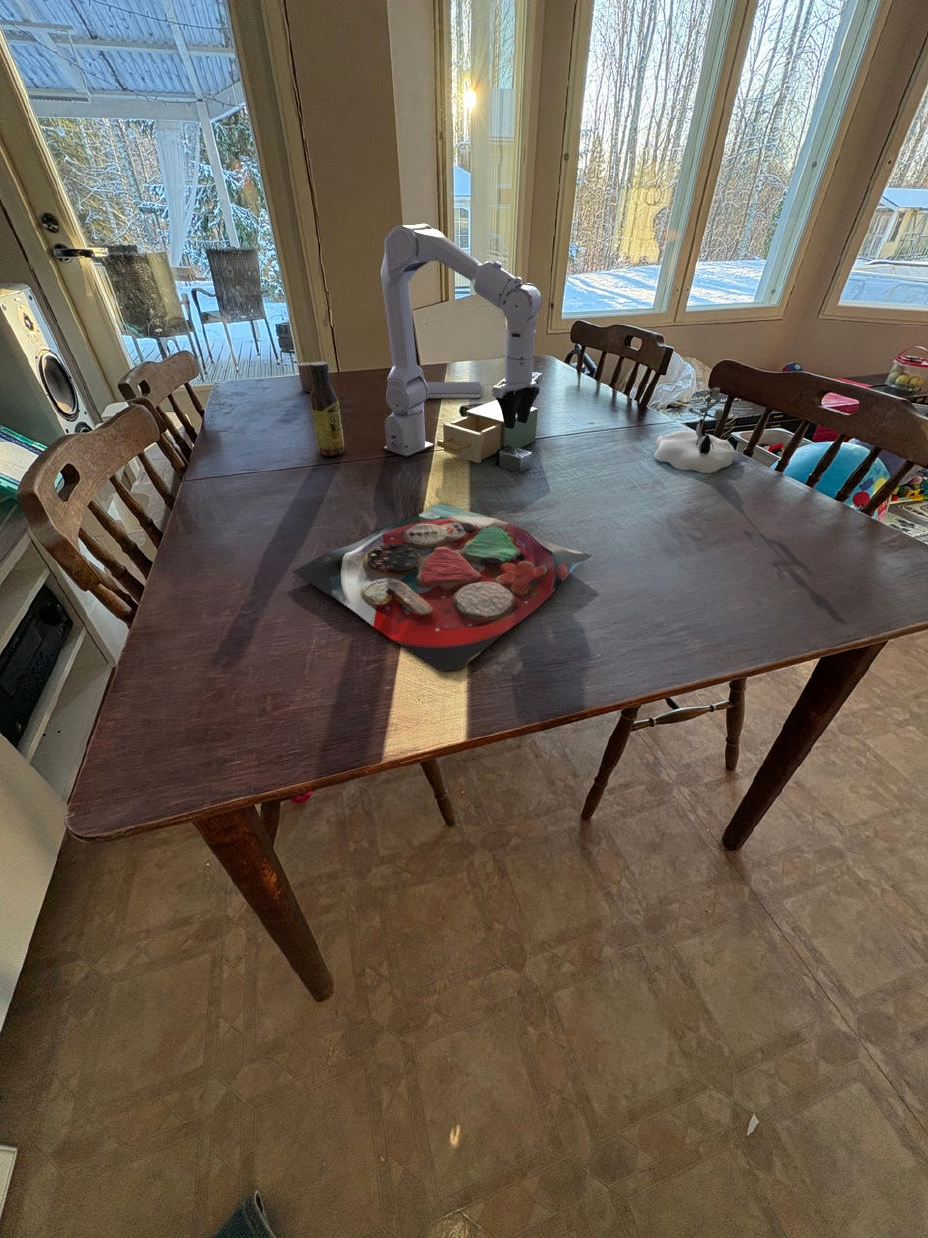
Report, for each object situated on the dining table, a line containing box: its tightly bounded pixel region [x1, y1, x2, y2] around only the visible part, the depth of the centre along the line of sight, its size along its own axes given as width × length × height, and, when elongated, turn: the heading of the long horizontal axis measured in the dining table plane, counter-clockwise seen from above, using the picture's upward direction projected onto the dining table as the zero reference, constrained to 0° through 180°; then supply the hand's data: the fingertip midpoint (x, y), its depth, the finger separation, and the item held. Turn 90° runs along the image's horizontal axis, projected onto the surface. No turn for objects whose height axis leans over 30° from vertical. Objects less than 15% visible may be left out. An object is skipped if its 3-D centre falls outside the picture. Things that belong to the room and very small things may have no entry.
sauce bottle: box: [309, 361, 345, 457], centre depth 118 cm, size 6×6×20 cm
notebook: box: [425, 381, 482, 400], centre depth 163 cm, size 13×2×21 cm
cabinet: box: [466, 399, 539, 449], centre depth 127 cm, size 13×12×8 cm
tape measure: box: [458, 403, 484, 418], centre depth 142 cm, size 7×7×4 cm
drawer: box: [436, 415, 504, 464], centre depth 120 cm, size 17×11×6 cm, turn 139°
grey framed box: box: [495, 445, 533, 474], centre depth 116 cm, size 4×7×4 cm, turn 49°
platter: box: [292, 503, 593, 672], centre depth 83 cm, size 35×35×2 cm
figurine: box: [654, 386, 738, 474], centre depth 116 cm, size 20×18×16 cm
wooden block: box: [297, 361, 314, 394], centre depth 163 cm, size 4×4×8 cm
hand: (515, 424), depth 112 cm, fingers open, 4 cm apart
